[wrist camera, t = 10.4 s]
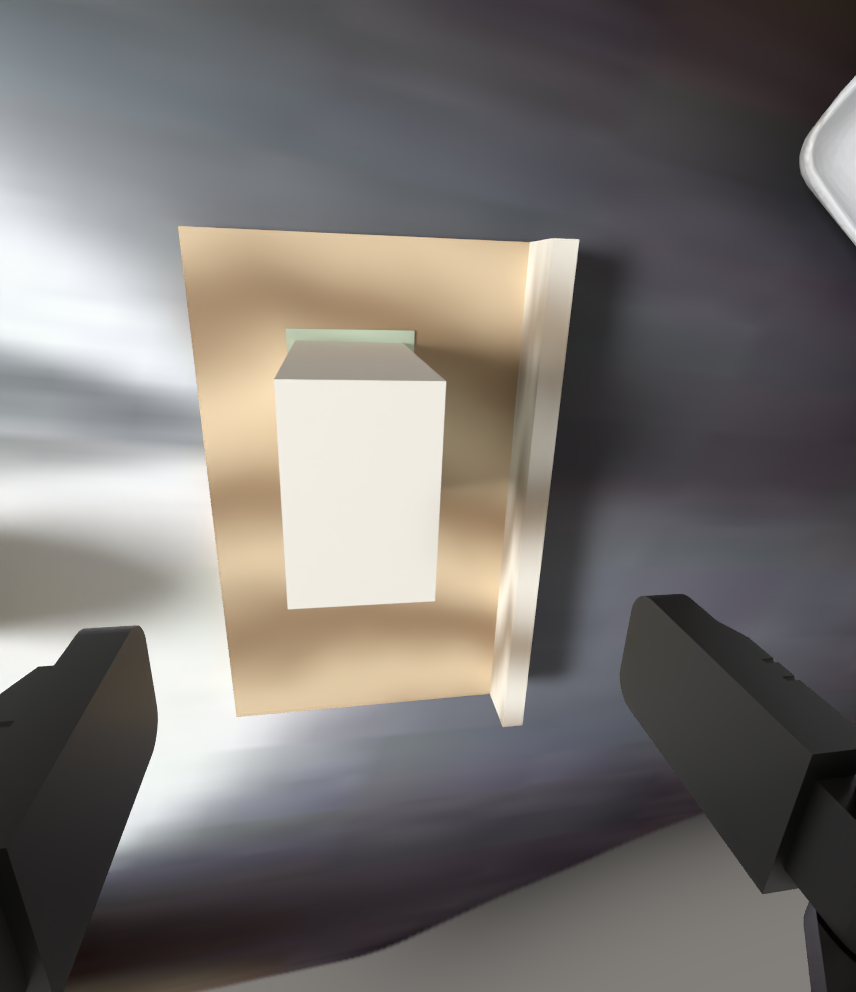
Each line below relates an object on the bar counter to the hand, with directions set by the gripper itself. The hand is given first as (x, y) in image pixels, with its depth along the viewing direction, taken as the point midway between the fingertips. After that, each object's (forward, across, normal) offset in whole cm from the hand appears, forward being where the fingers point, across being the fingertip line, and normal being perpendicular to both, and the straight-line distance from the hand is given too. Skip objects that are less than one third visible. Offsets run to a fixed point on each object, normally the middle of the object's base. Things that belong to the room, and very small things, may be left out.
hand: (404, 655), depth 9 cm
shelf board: (+16, -1, +3) cm, 17 cm away
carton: (+15, 0, 0) cm, 15 cm away
